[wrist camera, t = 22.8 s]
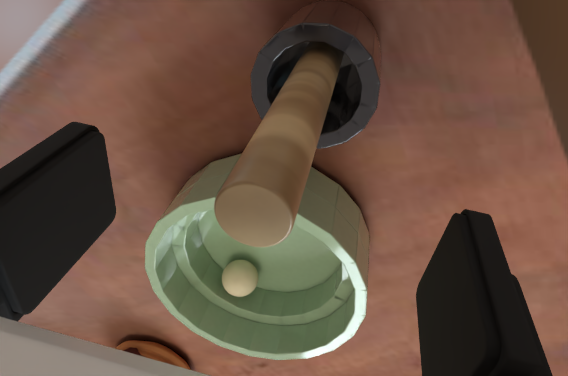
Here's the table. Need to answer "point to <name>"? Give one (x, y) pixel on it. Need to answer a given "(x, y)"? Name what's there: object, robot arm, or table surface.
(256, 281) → the ball
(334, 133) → the holder
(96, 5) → the table surface
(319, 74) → the stick
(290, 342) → the bowl
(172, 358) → the donut
